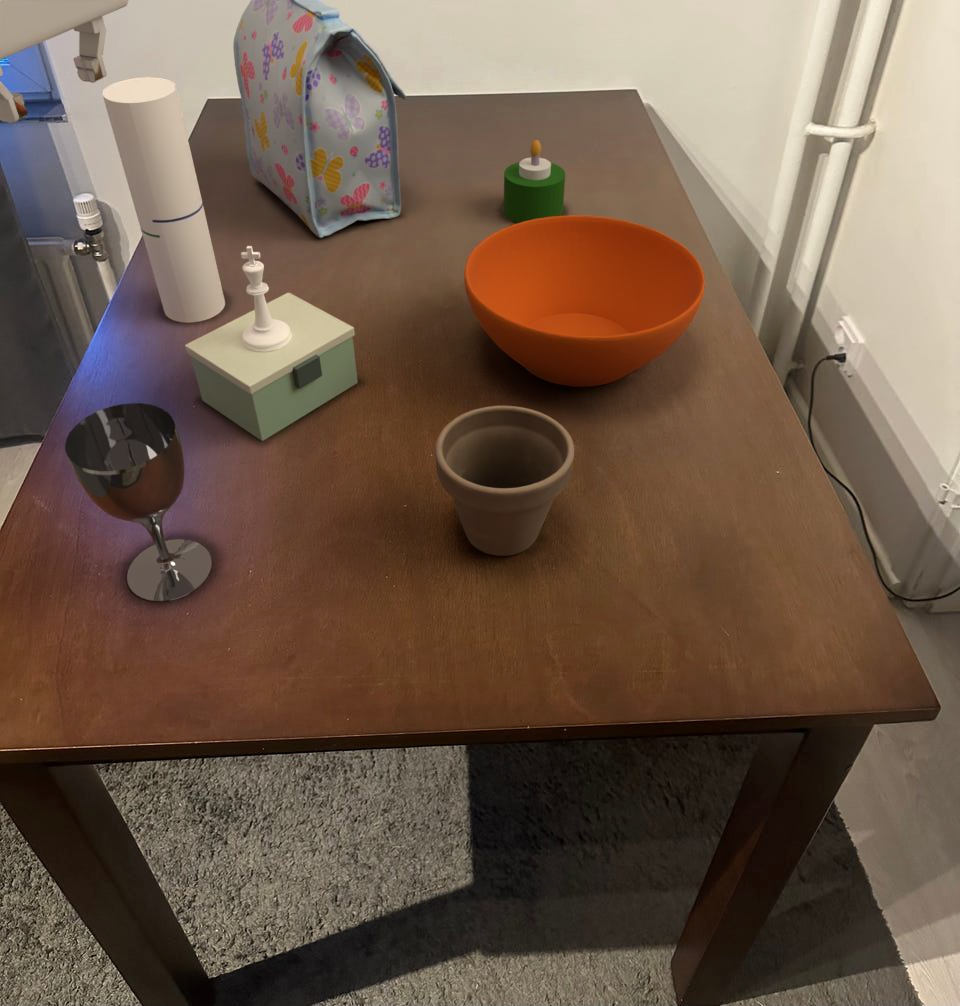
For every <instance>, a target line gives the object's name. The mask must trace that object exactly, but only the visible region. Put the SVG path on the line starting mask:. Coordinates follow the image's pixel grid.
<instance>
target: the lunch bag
mask: <svg viewBox="0 0 960 1006" xmlns="http://www.w3.org/2000/svg"><path fill="white" fill-rule="evenodd" d="M340 14H341V13H340V10H339V8H338V7H332V6H330V5H328V4H326V3H324V2H323V1H322V0H250V1H249V3H248V4H247V5H246V7H245V9H244V10H243V12H242V14H241V17H240V19H239V22H238V24H237V27H236V30H235V33H234V37H233V46H232V48H233V60H234V68H235V74H236V79H237V81H236V82H237V86H238V90H239V94H240V103H241V109H242V116H243V117H242V118H243V124H244V135H245V136H244V137H245V148H246V156H247V162H248V167H249V171H250V174H251V176H252V177H253V178H254V179H256V180H257V181H258V182H260V183H261V184H262V185H264V186H265V187H266V188H267V189H268V190H270V192H271V193H273V194H274V195H275V196H277V197H278V198H279V199H280V201H281V202H283V203H284V204H285V205H286V206H287V207H288V208H289V209H290V210H291V211H293V212H294V214H296V215H297V216H298V218H300V220H301V221H302V222H303V223H304V224H305V225H306V226H307V227H308V228H309V230H310V231H311V232H312V233H313V234H314V235H315V236H316V237H318V238H320V239H322V238H324V237H328V236H330V235H332V234H334V233H336V232H338V231H340V230H342V229H344V228H346V227H349V226H350V225H352V224H353V223H355V222H357V221H364V222H366V221H371V220H383V219H384V220H386V219H387V220H391V219H394V218H397V217H399V216H400V215H401V211H402V198H401V197H402V196H401V180H400V162H399V133H398V132H399V131H398V114H397V105H396V99H395V98H396V97H395V96H397V97H398V98H399V99H400V98H401V99H402V100H407V95H406V94H405V93H404V91H403V89H402V88H401V87H400V86H399V85H398V83H397V82H396V80H395V79H394V78H393V77H392V74H391V73H390V71H389V70H388V69H387V66H386V64H385V63H384V62H383V60H382V59H381V57H380V56H379V55H380V54H378V52H376V50H375V49H374V48H373V47H372V46H371V45H370V43H368V42H367V41H366V39H365V38H364V37H363V35H361V34H360V32H358V30H357V29H356V28H355V27H353V25H351V24H350V23H347V22H345V21H344V20H343V19H341V18H340Z"/></svg>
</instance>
